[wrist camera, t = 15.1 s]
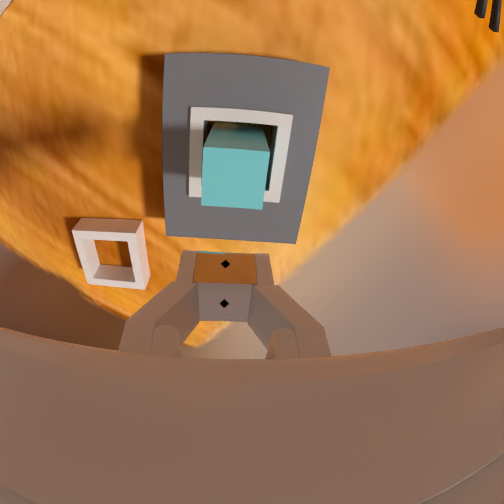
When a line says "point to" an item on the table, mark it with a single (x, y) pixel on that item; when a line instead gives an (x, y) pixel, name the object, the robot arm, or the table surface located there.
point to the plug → (235, 166)
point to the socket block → (248, 111)
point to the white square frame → (112, 231)
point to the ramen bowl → (495, 13)
